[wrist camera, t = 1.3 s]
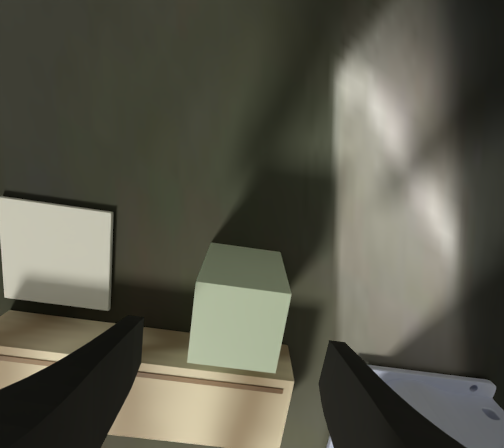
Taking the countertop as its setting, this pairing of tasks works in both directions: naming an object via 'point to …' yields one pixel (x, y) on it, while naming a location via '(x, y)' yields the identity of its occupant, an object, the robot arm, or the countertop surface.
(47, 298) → the grey pad
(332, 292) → the countertop surface
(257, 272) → the block
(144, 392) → the ash board
